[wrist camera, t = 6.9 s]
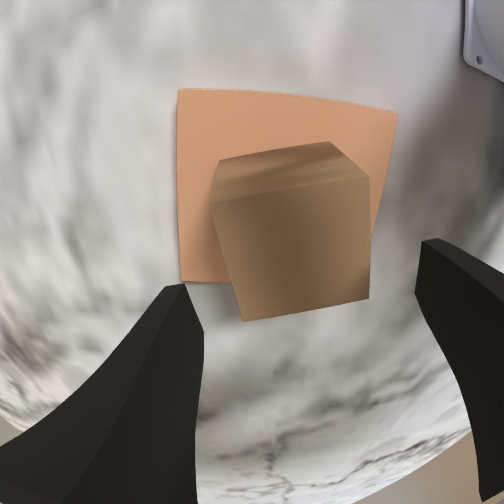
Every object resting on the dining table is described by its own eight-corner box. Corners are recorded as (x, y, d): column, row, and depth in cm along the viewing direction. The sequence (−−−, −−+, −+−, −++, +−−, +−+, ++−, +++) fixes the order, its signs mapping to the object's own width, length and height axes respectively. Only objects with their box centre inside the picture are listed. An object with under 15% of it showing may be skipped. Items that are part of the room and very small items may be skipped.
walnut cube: (329, 140, 13) (369, 175, 9) (337, 235, 16) (368, 298, 12) (219, 159, 14) (208, 203, 9) (242, 253, 16) (242, 321, 12)
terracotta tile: (389, 111, 13) (398, 113, 13) (351, 276, 19) (356, 287, 18) (182, 88, 13) (177, 89, 12) (183, 270, 18) (181, 280, 17)
